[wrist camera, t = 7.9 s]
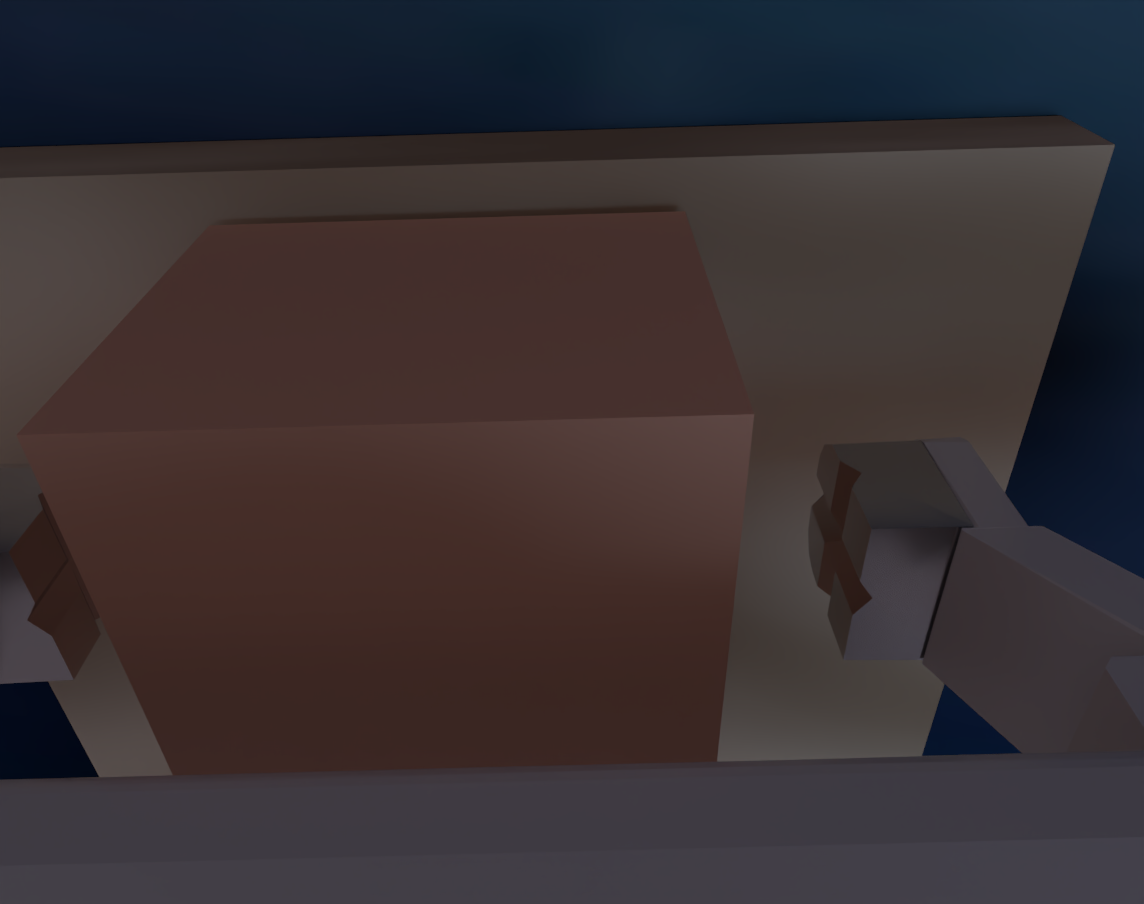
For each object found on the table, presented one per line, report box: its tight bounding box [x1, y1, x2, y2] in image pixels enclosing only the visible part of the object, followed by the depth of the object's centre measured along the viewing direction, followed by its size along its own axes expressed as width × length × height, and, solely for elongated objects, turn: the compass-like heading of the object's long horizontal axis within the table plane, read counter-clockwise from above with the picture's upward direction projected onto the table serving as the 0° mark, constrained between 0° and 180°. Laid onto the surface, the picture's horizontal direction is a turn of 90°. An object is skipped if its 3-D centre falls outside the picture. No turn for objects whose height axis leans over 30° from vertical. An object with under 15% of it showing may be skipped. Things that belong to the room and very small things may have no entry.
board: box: [0, 116, 1115, 777], centre depth 18 cm, size 28×14×1 cm, turn 1°
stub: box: [16, 211, 754, 775], centre depth 9 cm, size 6×5×4 cm
